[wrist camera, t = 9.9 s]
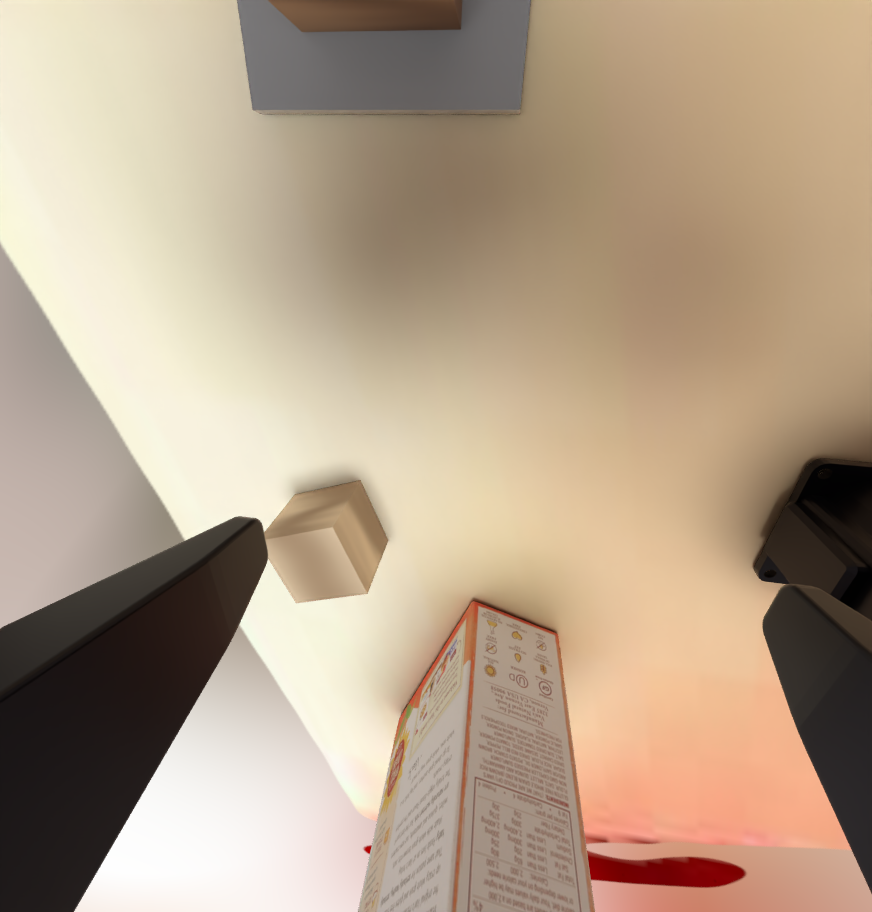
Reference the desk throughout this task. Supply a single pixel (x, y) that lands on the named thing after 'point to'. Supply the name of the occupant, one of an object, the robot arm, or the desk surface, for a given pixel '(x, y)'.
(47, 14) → the desk surface
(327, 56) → the slate coaster
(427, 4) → the walnut cube
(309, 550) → the oak block
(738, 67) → the desk surface
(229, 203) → the desk surface
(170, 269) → the desk surface
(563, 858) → the cracker box
